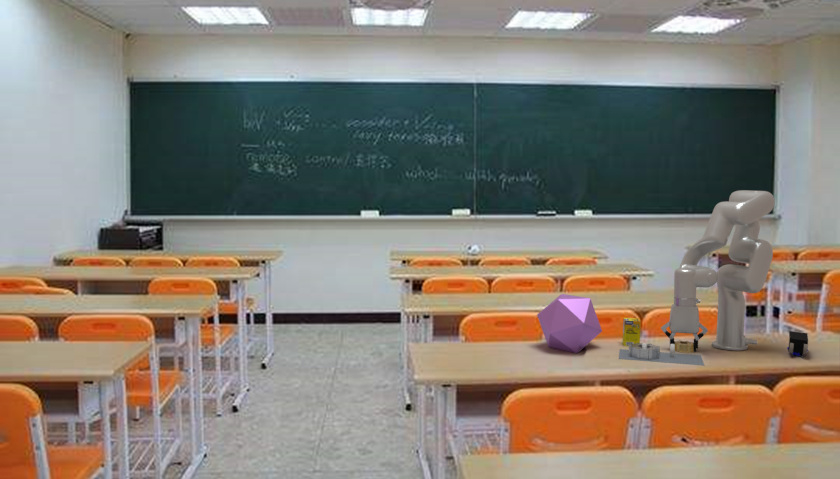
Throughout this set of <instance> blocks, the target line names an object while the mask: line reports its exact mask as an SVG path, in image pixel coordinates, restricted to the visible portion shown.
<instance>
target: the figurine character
mask: <svg viewBox="0 0 840 479" xmlns="http://www.w3.org/2000/svg"><path fill="white" fill-rule="evenodd" d="M788 334H789V335H788V336H789V337H788V338H789V340H788V347H787V350H788V353H791V357H792V358H795V356H796V357H800V358H801V359H804V354H805V355H807V354H808V352H809V349H808V348H809V336H808V333H807V332H801V331H793V330H792V331H791V330H789V332H788Z"/></svg>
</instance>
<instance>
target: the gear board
mask: <svg viewBox="0 0 840 479" xmlns="http://www.w3.org/2000/svg"><path fill="white" fill-rule="evenodd" d="M641 343H642V342H641ZM647 344H648V343H646V342H643V343H642V348H647ZM618 360H627V361H638V362H640V361H641V362H651V363H664V364H665V363H667V364H676V365H677V364H678V365H679V364H680V365H690V366H691V365H692V366H701V367H702V366H704V367H705V363H704V360H703V357H702V355H701V354H693V353H691V354H690V353H680V352H679V353H678V352H676V351H675V344H670V343H669V352H662V351H660V358H659V359H652V360H648V359H637V358H634V357H630V356H629V349H625V348H624V349H622V348H621V349H620V348H619V352H618Z"/></svg>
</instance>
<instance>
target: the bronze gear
mask: <svg viewBox="0 0 840 479" xmlns="http://www.w3.org/2000/svg"><path fill="white" fill-rule="evenodd" d="M674 344H675V352H677V353H678V352H679V353H684V354H690V353H695V351H694V341H689V340H680V339H679V340H677V341H676V340H674Z"/></svg>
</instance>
